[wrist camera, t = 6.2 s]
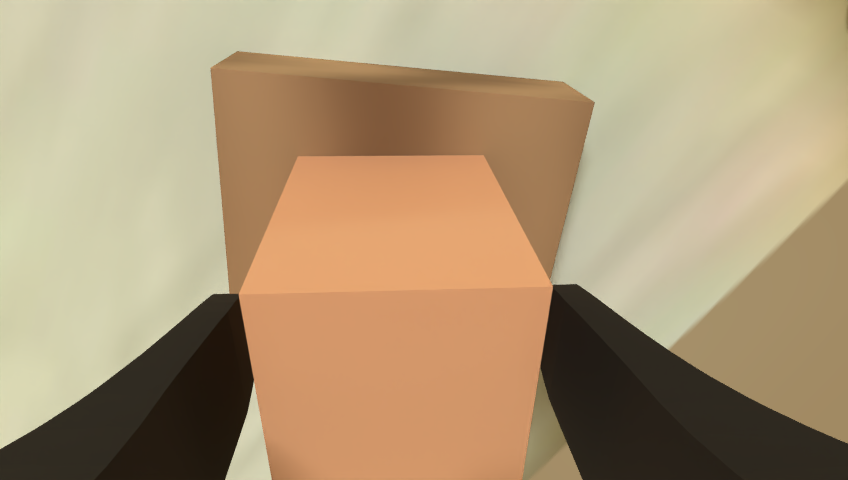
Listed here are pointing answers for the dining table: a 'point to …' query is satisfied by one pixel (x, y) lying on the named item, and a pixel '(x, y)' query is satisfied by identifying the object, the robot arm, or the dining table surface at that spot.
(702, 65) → the dining table surface
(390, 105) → the block
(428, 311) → the peach foam cube
